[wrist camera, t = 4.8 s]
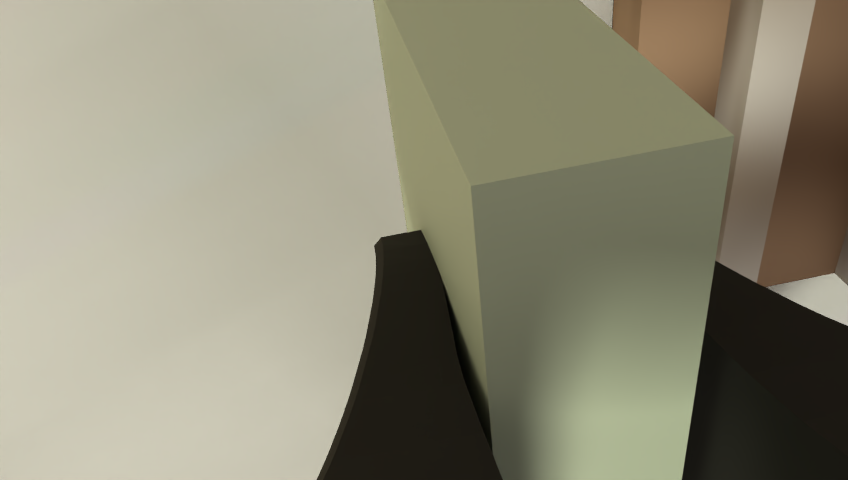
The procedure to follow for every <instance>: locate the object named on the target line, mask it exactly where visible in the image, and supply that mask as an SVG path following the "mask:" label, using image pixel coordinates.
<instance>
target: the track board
mask: <svg viewBox="0 0 848 480" xmlns="http://www.w3.org/2000/svg"><path fill="white" fill-rule="evenodd" d="M612 29H613V30H614V31H615V32H616V33H617V34H618V35H620V36H621V37H622V38H623V39H624V40H625V41H626V42H628V43H629V44H630V45H631V46H632V47H633V48H634V49H636V50H637V51H638V52H639V53H640V54H641V55H642V56H644V57H645V58H646V59H647V60H648V61H649V62H651V63H652V64H653V65H654V66H655V67H656V68H657V69H659V70H660V71H661V72H662V73H663V74H664V75H665V76H667V77H668V78H669V79H670V80H671V81H672V82H674V83H675V84H676V85H677V86H678V87H679V88H680V89H682V90H683V91H684V92H685V93H686V94H687V95H688V96H690V97H691V98H692V99H693V100H694V101H695V102H696V103H698V104H699V105H700V106H701V107H702V108H703V109H705V110H706V111H707V112H708V113H709V114H710V115H711V116H713V117H714V118H715V119H716V120H717V121H718V122H719V123H721V124H722V125H723V126H724V127H725V128H726V129H727V130H729V131H730V132H731V133H732V134H733V135H734V142H733V148H732V155H731V161H730V168H729V174H728V181H727V187H726V194H725V200H724V207H723V214H722V220H721V227H720V233H719V240H718V246H717V253H716V259H715V260H716V261H717V262H719V263H721V264H723V265H724V266H726V267H728V268H730V269H732V270H733V271H735V272H737V273H739V274H741V275H743V276H744V277H746V278H748V279H750V280H752V281H754V282H756V283H758V284H760V285H762V286H764V287H768V286H773V285H777V284H782V283H787V282H792V281H797V280H802V279H807V278H812V277H817V276H821V275H826V274H831V273H835V274H836V275H837V276H838V277H839V278H841V279H842V280H843V281H844V282H845V283H846V284H847V285H848V0H614V7H613V26H612Z"/></svg>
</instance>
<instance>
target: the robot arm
mask: <svg viewBox="0 0 848 480" xmlns="http://www.w3.org/2000/svg"><path fill="white" fill-rule="evenodd" d="M374 247H375V253H376V278H375V288H374V296H373V303H372V308H371V314H370V319H369V324H368V329H367V334H366V339H365V343H364V347H363V351H362V354H361V358H360V362H359V365H358V369H357V372H356V376H355V379H354V383H353V386H352V390H351V393H350V396H349V399H348V402H347V405H346V408H345V411H344V414H343V417H342V419H341V422H340V425H339V428H338V430H337V433H336V435H335V438H334V440H333V443H332V445H331V448H330V451H329V453H328V455H327V458H326V460H325V463H324V465H323V467H322V469H321V471H320V474H319V476H318V478H317V480H503V479H502V476H501V474H500V471H499V469H498V466H497V464H496V461H495V459H494V456H493V454H492V451H491V449H490V446H489V444H488V441H487V439H486V436H485V434H484V431H483V429H482V426H481V423H480V421H479V418H478V415H477V413H476V410H475V407H474V405H473V402H472V399H471V397H470V394H469V391H468V389H467V386H466V383H465V381H464V377H463V374H462V370H461V367H460V363H459V359H458V356H457V351H456V346H455V341H454V336H453V331H452V326H451V321H450V316H449V312H448V307H447V302H446V297H445V292H444V287H443V282H442V277H441V275H440V272H439V270H438V267H437V265H436V262H435V260H434V257H433V255H432V253H431V250H430V248H429V246H428V243H427V241H426V239H425V237H424V235H423V233H422V231H421V230H417V231H412V232H407V233H402V234H396V235H391V236H386V237H381V238H380V240H379V241H378V242H377V243H376V244H375V245H374ZM682 480H848V326H846V325H844V324H842V323H839V322H837V321H835V320H832V319H830V318H828V317H825V316H823V315H821V314H819V313H816V312H814V311H812V310H810V309H808V308H806V307H804V306H801V305H799V304H797V303H795V302H793V301H791V300H789V299H787V298H785V297H783V296H781V295H779V294H777V293H775V292H773V291H772V290H770V289H768V288H766V287H764V286H762V285H760V284H758V283H756V282H754V281H752V280H750V279H748V278H746V277H744V276H743V275H741V274H739V273H737V272H735V271H733V270H732V269H730V268H728V267H726V266H724V265H723V264H721V263H719V262H717V261H716V260H715V266H714V272H713V279H712V285H711V292H710V298H709V305H708V311H707V318H706V325H705V331H704V338H703V344H702V351H701V357H700V364H699V370H698V377H697V383H696V390H695V396H694V403H693V409H692V416H691V423H690V429H689V436H688V442H687V449H686V455H685V462H684V468H683V475H682Z"/></svg>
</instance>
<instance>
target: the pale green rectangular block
mask: <svg viewBox="0 0 848 480" xmlns="http://www.w3.org/2000/svg"><path fill="white" fill-rule="evenodd" d="M373 2H374V9H375V16H376V22H377V29H378V36H379V43H380V50H381V56H382V63H383V70H384V77H385V84H386V90H387V97H388V104H389V111H390V118H391V124H392V131H393V138H394V145H395V152H396V158H397V165H398V172H399V179H400V186H401V192H402V199H403V206H404V213H405V220H406V226H407V232H412V231H417V230H421V231H422V233H423V235H424V237H425V239H426V241H427V243H428V246H429V248H430V250H431V253H432V255H433V257H434V260H435V262H436V265H437V267H438V270H439V272H440V275H441V277H442V282H443V287H444V292H445V297H446V302H447V307H448V312H449V316H450V321H451V326H452V331H453V336H454V341H455V346H456V351H457V356H458V359H459V363H460V367H461V370H462V374H463V377H464V381H465V383H466V386H467V389H468V391H469V394H470V397H471V399H472V402H473V405H474V407H475V410H476V413H477V415H478V418H479V421H480V423H481V426H482V429H483V431H484V434H485V436H486V439H487V441H488V444H489V446H490V449H491V451H492V454H493V456H494V459H495V461H496V464H497V466H498V469H499V471H500V474H501V476H502V479H503V480H682V475H683V468H684V462H685V455H686V449H687V442H688V436H689V429H690V423H691V416H692V409H693V403H694V396H695V390H696V383H697V377H698V370H699V364H700V357H701V351H702V344H703V338H704V331H705V325H706V318H707V311H708V305H709V298H710V292H711V285H712V279H713V272H714V266H715V259H716V253H717V246H718V240H719V233H720V227H721V220H722V214H723V207H724V200H725V194H726V187H727V181H728V174H729V168H730V161H731V155H732V148H733V142H734V135H733V134H732V133H731V132H730V131H729V130H727V129H726V128H725V127H724V126H723V125H722V124H721V123H719V122H718V121H717V120H716V119H715V118H714V117H713V116H711V115H710V114H709V113H708V112H707V111H706V110H705V109H703V108H702V107H701V106H700V105H699V104H698V103H696V102H695V101H694V100H693V99H692V98H691V97H690V96H688V95H687V94H686V93H685V92H684V91H683V90H682V89H680V88H679V87H678V86H677V85H676V84H675V83H674V82H672V81H671V80H670V79H669V78H668V77H667V76H665V75H664V74H663V73H662V72H661V71H660V70H659V69H657V68H656V67H655V66H654V65H653V64H652V63H651V62H649V61H648V60H647V59H646V58H645V57H644V56H642V55H641V54H640V53H639V52H638V51H637V50H636V49H634V48H633V47H632V46H631V45H630V44H629V43H628V42H626V41H625V40H624V39H623V38H622V37H621V36H620V35H618V34H617V33H616V32H615V31H614V30H613V29H612V28H610V27H609V26H608V25H607V24H606V23H605V22H603V21H602V20H601V19H600V18H599V17H598V16H597V15H595V14H594V13H593V12H592V11H591V10H590V9H589V8H587V7H586V6H585V5H584V4H583V3H582V2H581V1H579V0H373Z"/></svg>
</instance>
